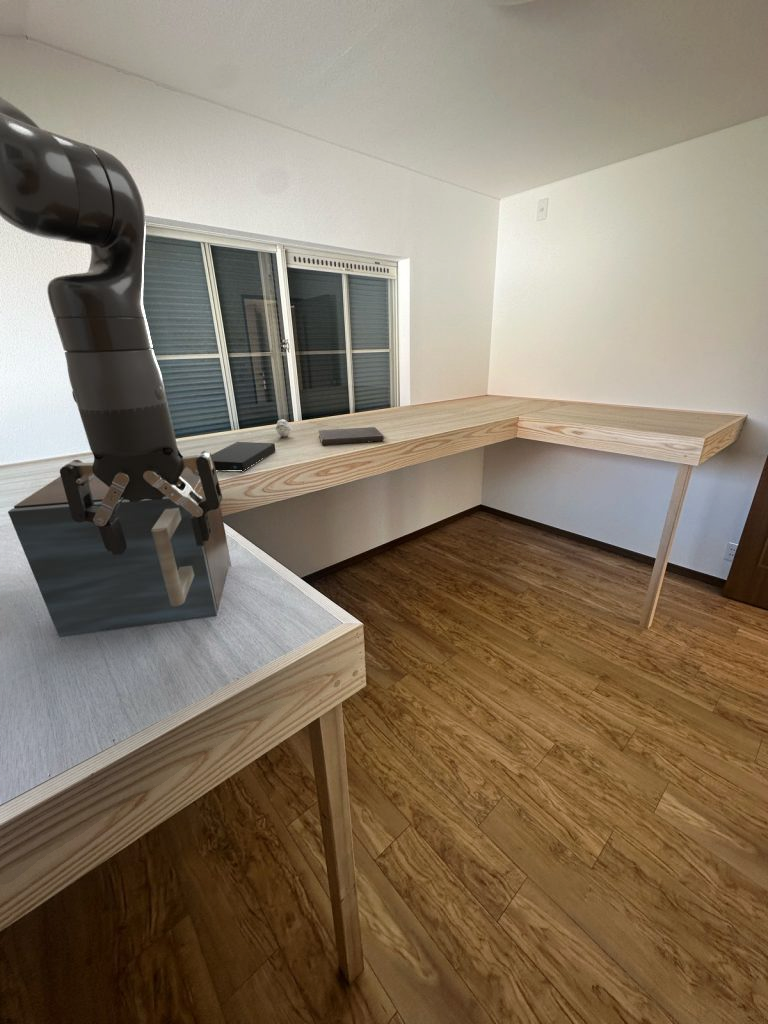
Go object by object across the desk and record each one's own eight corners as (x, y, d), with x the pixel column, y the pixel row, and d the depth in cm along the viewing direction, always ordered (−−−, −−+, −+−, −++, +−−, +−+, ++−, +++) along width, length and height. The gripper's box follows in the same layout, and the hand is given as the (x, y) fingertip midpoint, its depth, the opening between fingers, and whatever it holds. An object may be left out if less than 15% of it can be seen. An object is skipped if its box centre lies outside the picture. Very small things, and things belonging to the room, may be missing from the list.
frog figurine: (274, 438, 162) (272, 421, 159) (279, 434, 168) (277, 417, 166) (289, 438, 162) (288, 421, 159) (294, 434, 168) (292, 417, 165)
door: (210, 657, 54) (178, 518, 46) (34, 683, 50) (-34, 538, 42) (219, 619, 61) (193, 493, 53) (65, 640, 57) (12, 508, 49)
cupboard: (219, 619, 61) (193, 492, 53) (66, 639, 57) (13, 506, 49) (231, 567, 74) (212, 459, 66) (108, 581, 70) (71, 468, 62)
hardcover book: (318, 436, 166) (318, 430, 165) (375, 432, 170) (375, 426, 169) (322, 445, 151) (321, 439, 151) (383, 441, 156) (383, 435, 155)
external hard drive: (275, 451, 145) (274, 443, 144) (243, 472, 124) (242, 462, 123) (237, 450, 147) (236, 441, 146) (200, 470, 126) (198, 460, 125)
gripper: (207, 392, 45) (232, 527, 51) (59, 398, 42) (105, 539, 49) (194, 402, 38) (224, 556, 45) (16, 410, 35) (76, 573, 42)
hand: (162, 547), depth 47 cm, fingers open, 8 cm apart
